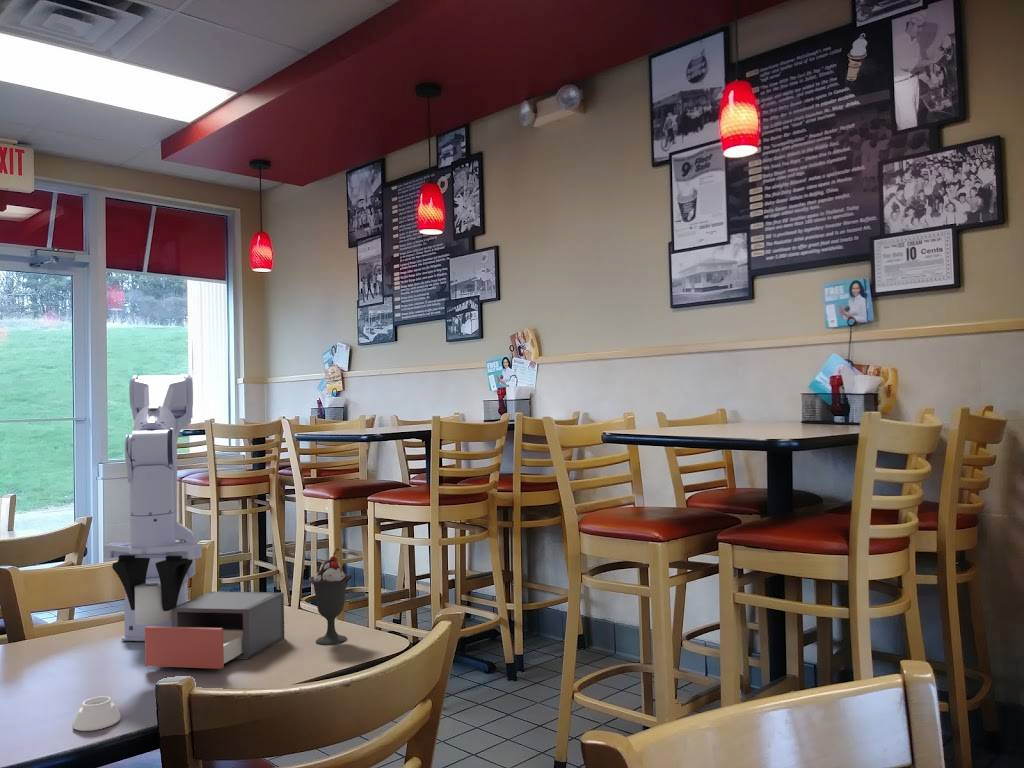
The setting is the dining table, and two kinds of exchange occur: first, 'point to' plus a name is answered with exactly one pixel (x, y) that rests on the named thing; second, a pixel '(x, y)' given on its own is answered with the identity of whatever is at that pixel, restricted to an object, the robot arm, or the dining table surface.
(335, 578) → the sundae
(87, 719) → the white jar
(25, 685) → the dining table surface
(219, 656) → the red drawer
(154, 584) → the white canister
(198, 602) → the housing
